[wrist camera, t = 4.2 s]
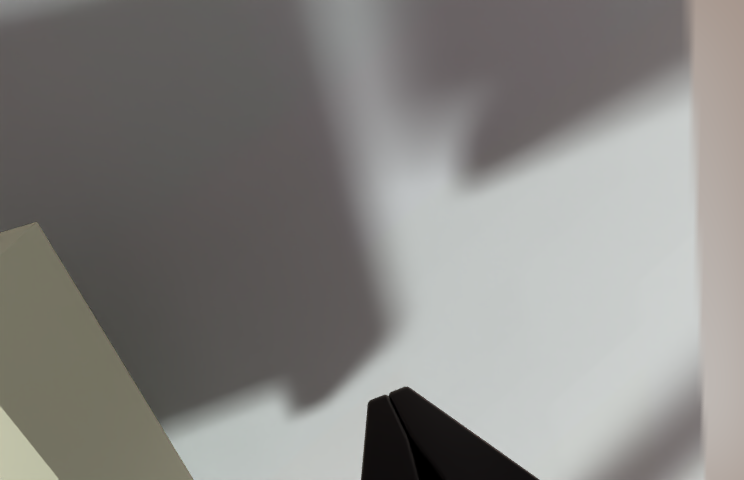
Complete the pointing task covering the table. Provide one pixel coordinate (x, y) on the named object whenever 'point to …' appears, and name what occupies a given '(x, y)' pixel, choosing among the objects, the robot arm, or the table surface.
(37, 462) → the lid
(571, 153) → the table surface
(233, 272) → the table surface
